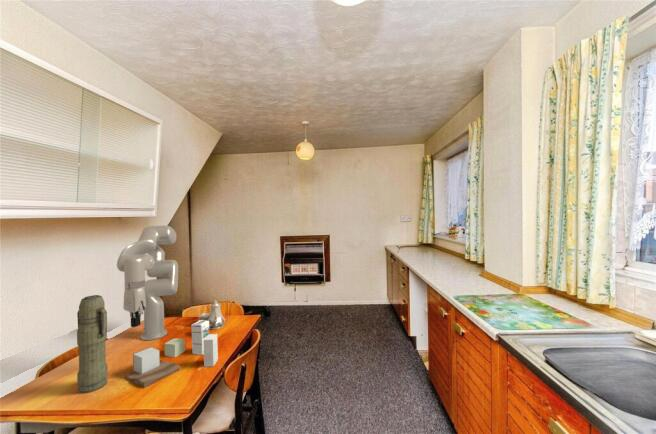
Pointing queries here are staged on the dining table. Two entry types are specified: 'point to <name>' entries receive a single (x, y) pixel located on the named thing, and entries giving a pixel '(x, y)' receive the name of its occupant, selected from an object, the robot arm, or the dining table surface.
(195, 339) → the syrup box
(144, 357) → the light grey block
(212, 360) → the skincare box
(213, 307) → the chinaware
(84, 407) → the dining table surface
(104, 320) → the thermos
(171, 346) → the sage block
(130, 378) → the walnut steps
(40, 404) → the dining table surface
